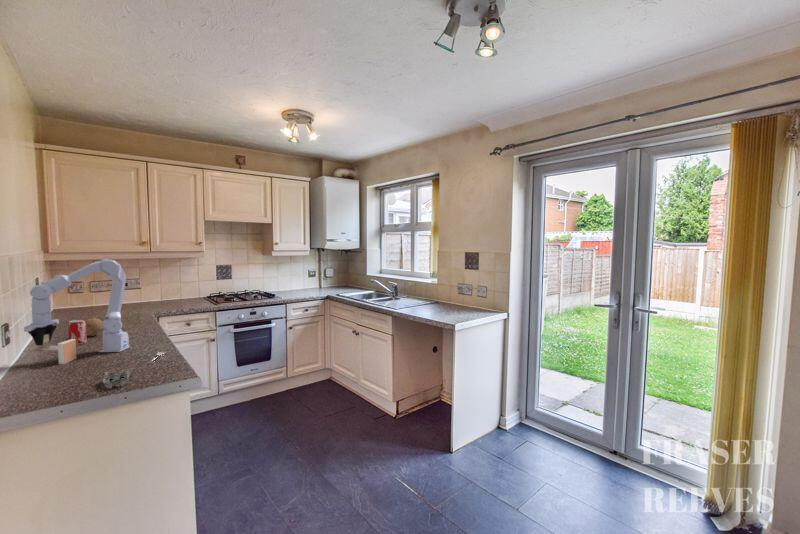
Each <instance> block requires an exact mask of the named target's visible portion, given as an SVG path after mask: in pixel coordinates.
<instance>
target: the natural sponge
mask: <svg viewBox="0 0 800 534" xmlns="http://www.w3.org/2000/svg"><path fill="white" fill-rule="evenodd" d="M102 321H103V320H101V319H99V318H96V317H92V318H88V319H87V320H84V322H85V323H86V331H87V336H89V337H95V336H97V335H98V334H99V333H102V332H103V331H104V328H103V327H102Z"/></svg>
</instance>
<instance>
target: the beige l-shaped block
mask: <svg viewBox="0 0 800 534" xmlns="http://www.w3.org/2000/svg"><path fill="white" fill-rule="evenodd" d="M34 343H35V342H34ZM34 345H35V350H37V351H38V350H39V351H58V345H50V343H49V334H44V339H43V345H36V343H35V344H34Z"/></svg>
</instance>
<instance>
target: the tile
mask: <svg viewBox="0 0 800 534" xmlns="http://www.w3.org/2000/svg"><path fill="white" fill-rule="evenodd" d="M57 346H58V350H57V351H58V352H57V353H58V364H59V365H64V364H67V363H70V362H72V361H75V360H77V345H76V339H70V340H68V339H67V340H64V341H61V342H59V343H57ZM74 359H75V360H74Z"/></svg>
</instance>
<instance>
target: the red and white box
mask: <svg viewBox="0 0 800 534" xmlns="http://www.w3.org/2000/svg"><path fill="white" fill-rule="evenodd" d="M68 322H69V323H68V324H67V340H70V339H76V346H80V345H79V344H81V345H84V344H85V343H86V342H87V338H88V337H87V336H88V335H87V331H86V323H85V319H75V320H74V319H73V320H69V321H68ZM83 343H84V344H83Z"/></svg>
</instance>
